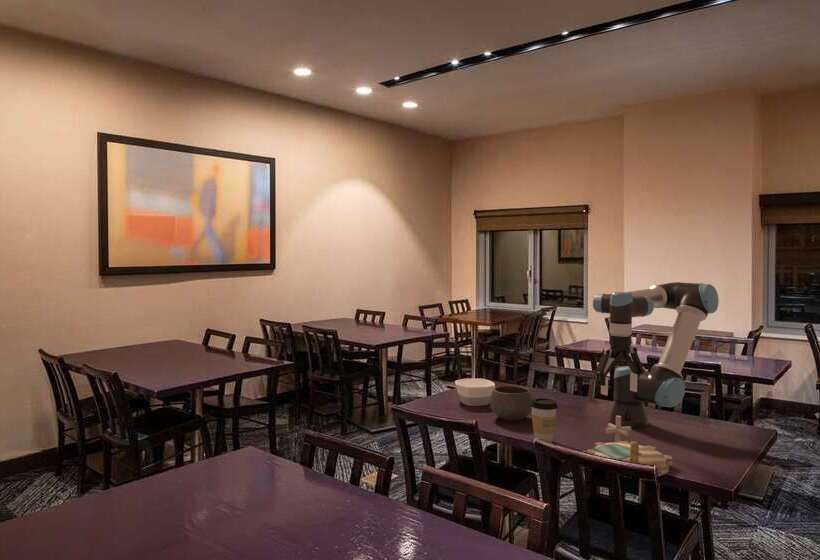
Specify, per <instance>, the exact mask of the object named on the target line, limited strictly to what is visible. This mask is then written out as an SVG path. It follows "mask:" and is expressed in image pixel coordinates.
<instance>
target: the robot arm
mask: <svg viewBox="0 0 820 560" xmlns="http://www.w3.org/2000/svg"><path fill="white" fill-rule="evenodd" d="M719 300H720V299H719V294H718V291H717V289H716V287H715V286H714V285H713V284H709V283H704V282H700V283H696V282H677V281H675V282H668V283H662V284H661V283H660V284H658V285H657V284H656V285H652V286H650V287H649V288H645V289H638V290H632V291H631V290H630V291H612V292H611V293H597V294H596V295H594V297H593V300H592V308H593V310H594V311H595V312H596V313H600V314H608V315H609V333H610V335H609V339H608V341H609V342H608V344H609V346H610V347H609V349H608V348H603V349H602V354H601V357H600V360H599V361H598V365H597V367H596V369H595V371H594V374H595V375H596V376H599V385H600V394H601V395H604V396H608V395H609V394H608V393H609V392H608V391H609V377H608V374H609V372H610V371H611V370H612V368H613V366H614V365H615V364H616V363H618V362H620V361H624V362H625V363H626V366H624V365H623V366H619V367H616V368H615V369H614V375H613V376H614V377H613V403H612V406H611V410H610V413H609V415H608V421H609V423H611V424H613V425H615V426H616V416H621V427H626V426H630V427H631V429H641V428H646V427H648V426H649V417H648V414H647V411H646V407H645V403H648V404H652V405H656V406H659V407H667V408H674V407H676V406H678V405H679V404H680V403H681V402H682V400H683V398H684V396H685V393H686V391H685V389H686V384H685V382H684V377H683V375H682V374H681V372H682V370H683V367H684V365H685V362H686V359H687V358H688V355H689V351H690V349H691V347H692V344H693V341H694V339H695V337H696V335H697V332H698V329H699V326H700V324H701V322H703V321H706V319H707V317H708V315H709V314H714V313H716V312H717V310H718V307H719V302H720V301H719ZM655 309H669V310H675V311H676V312H677V316H676V319H675V321H674V323H673V326H672V329H671V331H670V334H669V336H668V338H667V341H666V344H665V346H664V348H663V351H662V353H661V355H660V358H659V360H658V363H657V364H655V365H652V367H651V369H650V371H649V372H647V371H646V367H644V366H642V363H641V360H640V357H639V354H638V348H637V347H636V346H632V333H633V330H632V325H633V318H640V317H641V318H644V317H647V316H650V315H651V314H652V313H653V312H654V310H655Z"/></svg>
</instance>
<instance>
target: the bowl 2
mask: <svg viewBox="0 0 820 560" xmlns="http://www.w3.org/2000/svg"><path fill="white" fill-rule="evenodd" d="M533 399H534V397H533V393H532V392H531V390H530V389H529V388H525V387H523V386H517V385H500V386H495V388H494V390H493V391H492V394H491V397H490V403H489V405H490V409H491V411H492V412H493V413H494V415H495V416H497V417H498V418H500V419H502V420H504V421H509V422H511V421H512V422H515V421H520V420H523V419H525V418H527V417H528V416H529V415H530V414H532V407H531V406H530V405H531V402H532V400H533Z"/></svg>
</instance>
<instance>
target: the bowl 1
mask: <svg viewBox="0 0 820 560" xmlns="http://www.w3.org/2000/svg"><path fill="white" fill-rule="evenodd" d="M454 385H455V388H456V391H457V394H458V396H459V400H460V402H461V403H462V404H463V405H465V406H468V407H481V406H487V405H490V397H491V394H492V391H493V390H494V388H495V387H496V384H495V382H494V381H493V380H492V381H491V380H489V379H486V378H473V377H472V378H462V379H457V380H455V381H454Z"/></svg>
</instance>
